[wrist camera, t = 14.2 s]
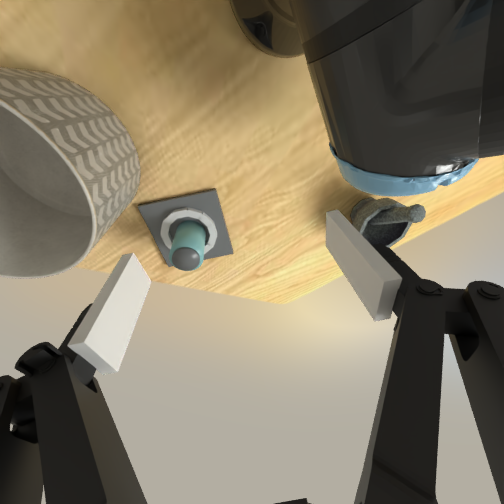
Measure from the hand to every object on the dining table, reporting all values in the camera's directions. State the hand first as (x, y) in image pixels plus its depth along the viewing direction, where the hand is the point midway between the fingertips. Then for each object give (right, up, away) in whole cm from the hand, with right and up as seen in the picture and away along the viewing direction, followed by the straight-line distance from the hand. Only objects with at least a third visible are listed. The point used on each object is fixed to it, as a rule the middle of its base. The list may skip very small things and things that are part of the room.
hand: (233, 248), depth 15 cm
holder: (-11, +4, +29) cm, 31 cm away
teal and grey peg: (-10, +3, +28) cm, 30 cm away
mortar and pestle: (+25, +9, +30) cm, 40 cm away
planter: (-25, +15, +19) cm, 35 cm away
